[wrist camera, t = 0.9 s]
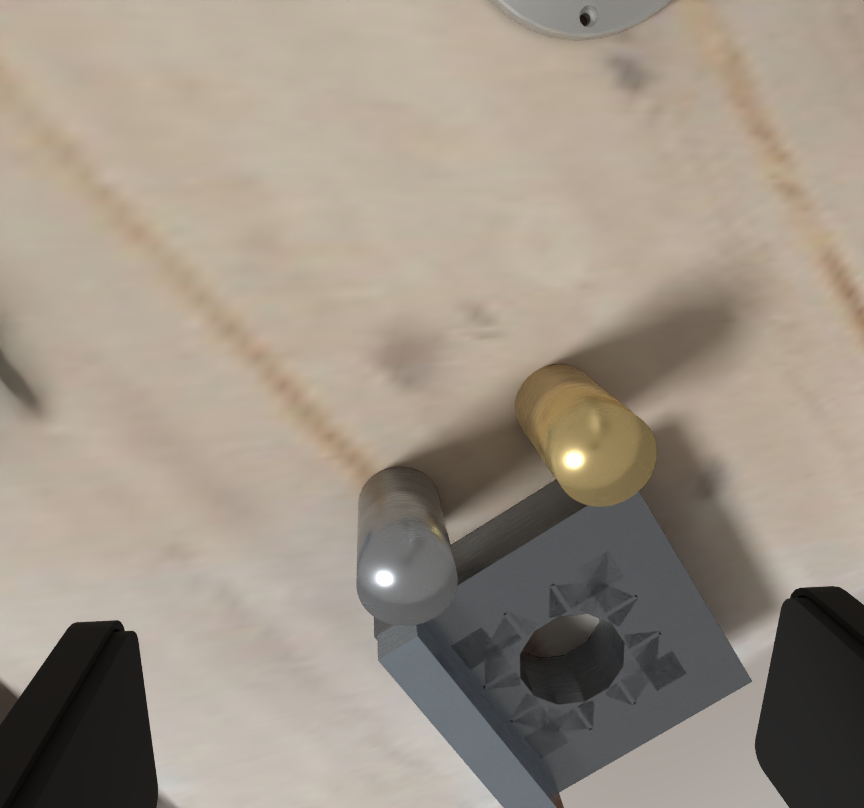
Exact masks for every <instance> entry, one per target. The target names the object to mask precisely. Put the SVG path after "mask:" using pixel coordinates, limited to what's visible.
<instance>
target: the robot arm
mask: <svg viewBox="0 0 864 808" xmlns="http://www.w3.org/2000/svg"><path fill="white" fill-rule="evenodd" d="M490 1H491V2H492V3H493V4H494V5H495V6H496V7H497V8H498V9H499V10H500V11H501V12H503V13H504V14H505V15H506V16H508V17H509V18H511V19H512V20H514V21H516V22H517V23H519V24H520V25H522V26H524V27H525V28H527V29H529V30H532V31H535V32H537V33H540V34H543V35H546V36H548V37H551V38H559V39H566V40H574V41H579V40H590V39H601V38H604V37H607V36H611V35H614V34H617V33H620V32H623V31H626V30H628V29H630V28H631V27H633V26H635V25H637V24H639V23H641V22H643V21H644V20H646V19H648V18H649V17H651V16H652V15H653V14H655V13H656V12H658V11H659V10H660V9H662V8H663V7H665V6H666V5H667V4H668V3H669V2H670V1H671V0H490ZM581 15H583V16H585V17H586V18H587V21H588V22H587V25H586V26H583V25H582V23H581V22H580V16H581ZM755 750H756V755H757V759H758V761H759V764H760V766H761V768H762V770H763V771H764V773H765V774H766V775H767V777H768V778H769V780H770V781H771V782H772V784H773V785H774V787H775V788H776V789H777V791H778V792H779V794H780V795H781V796H782V798H783V799H784V801H785V802H786V804H787V805H788V806H789V808H864V605H863V604H862V603H861V602H859V601H858V600H857V599H855V598H854V597H853V596H852V595H850V594H849V593H848V592H847V591H845V590H843V589H842V588H840V587H835V586H828V587H807V588H799V589H796V590H795V591H794V592H793V593H792V594H791V597H790V598H789V599H786V600H785V601H784V602H783V604H782V607H781V612H780V617H779V622H778V627H777V632H776V637H775V642H774V648H773V653H772V658H771V663H770V668H769V673H768V679H767V684H766V689H765V693H764V699H763V704H762V709H761V714H760V719H759V724H758V730H757V734H756V739H755ZM157 799H158V783H157V776H156V768H155V761H154V754H153V746H152V739H151V731H150V724H149V717H148V709H147V702H146V694H145V687H144V679H143V672H142V665H141V657H140V650H139V642H138V637H137V634H136V633H135V632H134V631H125V630H124V627H123V625H122V623H121V622H120V621H118V620H117V621H96V622H76V623H73V624H72V625H71V626H70V627H69V628H68V629H67V630H66V632H65V633H64V635H63V636H62V637H61V639H60V640H59V642H58V643H57V645H56V646H55V647H54V649H53V650H52V652H51V653H50V655H49V656H48V658H47V659H46V660H45V662H44V663H43V665H42V666H41V668H40V669H39V670H38V672H37V673H36V675H35V676H34V678H33V679H32V680H31V682H30V683H29V685H28V686H27V688H26V689H25V690H24V692H23V693H22V695H21V696H20V698H19V699H18V701H17V702H16V703H15V705H14V706H13V708H12V709H11V711H10V712H9V713H8V715H7V716H6V718H5V720H4V721H3V722H2V724H1V725H0V808H156V806H157Z"/></svg>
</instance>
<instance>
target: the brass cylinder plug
mask: <svg viewBox="0 0 864 808" xmlns="http://www.w3.org/2000/svg"><path fill="white" fill-rule="evenodd" d="M515 413H516V417H517V420H518V423H519V424H520V426H521V428H522V429H523V431H524V432H525V434H526V435H527V437H528V438H529V440H530V441H531V443H532V444H533V446H534V447H535V448H536V450H537V451H538V453H539V454H540V456H541V457H542V459H543V460H544V462H545V463H546V465H547V466H548V468H549V469H550V471H551V472H552V473H553V475H554V476H555V478H556V479H557V481H558V482H559V484H560V485H561V487H562V488H563V489H564V491H565V492H566V493H567V494H568V495H569V496H570V497H572V498H573V499H574V500H576V501H578V502H580V503H582V504H585V505H589V506H596V507H605V506H611V505H615V504H618V503H621V502H623V501H625V500H627V499H629V498H631V497H632V496H633V495H635V494H636V493H637V492H638V491H640V490H641V489H642V487H643V486H644V485H645V484H646V483H647V481H648V480H649V478H650V476H651V475H652V472H653V470H654V467H655V464H656V458H657V446H656V441H655V438H654V435H653V433H652V431H651V430H650V428H649V427H648V425H647V424H646V423H645V422H644V421H643V420H641V419H640V418H639V417H638V416H636V415H635V414H634V413H633V412H631V411H630V410H629V409H628V408H626V407H625V406H624V405H623V404H621V403H620V402H619V401H618V400H616V399H615V398H614V397H613V396H611V395H610V394H609V393H608V392H607V391H605V390H604V389H603V388H602V387H600V386H599V385H598V384H597V383H595V382H594V381H593V380H592V379H590V378H589V377H588V376H587V375H585V374H584V373H583V372H582V371H580V370H578V369H577V368H575V367H572V366H569V365H562V364H556V365H550V366H546V367H543V368H541V369H539V370H537V371H535V372H534V373H533V374H531V375H530V376H529V377H528V378H527V379H526V380H525V381H524V383H523V384H522V386H521V387H520V389H519V391H518V394H517V397H516V402H515Z"/></svg>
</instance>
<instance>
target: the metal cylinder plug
mask: <svg viewBox="0 0 864 808" xmlns="http://www.w3.org/2000/svg"><path fill="white" fill-rule="evenodd" d="M457 584H458V576H457V570H456V566H455V562H454V558H453V554H452V550H451V545H450V541H449V537H448V533H447V529H446V525H445V521H444V517H443V513H442V509H441V504H440V500H439V496H438V493H437V490H436V487H435V486H434V484H433V482H432V481H431V480H430V479H429V478H428V477H427V476H426V475H424V474H423V473H421V472H419V471H417V470H415V469H412V468H408V467H393V468H388V469H385V470H383V471H380V472H378V473H377V474H375V475H374V476H372V477H371V478H370V479H369V480H368V481H367V483H366V484H365V485H364V487H363V489H362V491H361V493H360V497H359V503H358V544H357V592H358V596H359V599H360V601H361V603H362V605H363V606H364V607H365V609H366V610H367V611H368V612H369V613H370V614H371V615H373V616H374V617H375V618H377V619H379V620H380V621H383V622H385V623H388V624H391V625H397V626H412V625H418V624H421V623H424V622H427V621H429V620H431V619H433V618H435V617H436V616H438V615H439V614H441V613H442V612H443V611H444V610H445V609H446V608H447V607H448V605H449V604H450V602H451V601H452V599H453V597H454V595H455V592H456V589H457Z"/></svg>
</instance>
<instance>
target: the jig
mask: <svg viewBox="0 0 864 808" xmlns="http://www.w3.org/2000/svg"><path fill="white" fill-rule="evenodd" d="M451 550H452V554H453V558H454V562H455V566H456V570H457V576H458V584H457V589H456V592H455V595H454V597H453V599H452V601H451V602H450V604H449V605H448V607H447V608H446V609H445V610H444V611H443V612H442V613H441V614H439V615H438V616H436V617H435V618H433V619H431V620H429V621H427V622H424V623H421V624H418V625H412V626H397V625H391V624H388V623H385V622H383V621H380V620H379V619H377V618H375V617H374V637H375V638H376V639H377V641H378V661H379V662H380V663H381V664H382V665H383V667H384V668H385V669H386V670H387V671H388V672H389V674H390V675H391V676H392V677H393V678H394V679H395V681H396V682H397V683H398V684H399V685H400V687H401V688H402V689H403V690H404V691H405V692H406V694H407V695H408V696H409V697H410V698H411V699H412V701H413V702H414V703H415V704H416V705H417V706H418V708H419V709H420V710H421V711H422V712H423V714H424V715H425V716H426V717H427V718H428V719H429V721H430V722H431V723H432V724H433V725H434V726H435V728H436V729H437V730H438V731H439V732H440V733H441V735H442V736H443V737H444V738H445V739H446V741H447V742H448V743H449V744H450V745H451V746H452V748H453V749H454V750H455V751H456V752H457V753H458V755H459V756H460V757H461V758H462V759H463V760H464V762H465V763H466V764H467V765H468V766H469V768H470V769H471V770H472V771H473V772H474V773H475V775H476V776H477V777H478V778H479V779H480V780H481V782H482V783H483V784H484V785H485V786H486V787H487V789H488V790H489V791H490V792H491V793H492V795H493V796H494V797H495V798H496V799H497V800H498V802H499V803H500V804H501V805H502V806H503V807H504V808H564V807H563V804H562V801H561V798H560V795H559V792H561V791H562V790H564V789H566V788H568V787H569V786H571V785H573V784H575V783H576V782H578V781H580V780H581V779H583V778H585V777H587V776H588V775H590V774H592V773H594V772H595V771H597V770H599V769H601V768H602V767H604V766H606V765H607V764H609V763H611V762H613V761H615V760H616V759H618V758H620V757H622V756H623V755H625V754H627V753H628V752H630V751H632V750H634V749H635V748H637V747H639V746H641V745H642V744H644V743H646V742H648V741H649V740H651V739H653V738H655V737H656V736H658V735H659V734H662V733H663V732H665V731H667V730H668V729H670V728H672V727H674V726H675V725H677V724H679V723H681V722H682V721H684V720H686V719H688V718H689V717H691V716H693V715H695V714H696V713H698V712H700V711H702V710H703V709H705V708H707V707H709V706H710V705H712V704H714V703H715V702H717V701H719V700H721V699H722V698H724V697H726V696H728V695H729V694H731V693H733V692H735V691H736V690H738V689H740V688H742V687H743V686H745V685H747V684H748V683H750V682H752V680H751V678H750V677H749V675H748V674H747V672H746V670H745V668H744V667H743V665H742V663H741V662H740V660H739V658H738V657H737V655H736V653H735V652H734V650H733V648H732V646H731V645H730V643H729V641H728V640H727V638H726V636H725V635H724V633H723V631H722V630H721V628H720V626H719V625H718V623H717V621H716V620H715V618H714V616H713V615H712V613H711V611H710V610H709V608H708V606H707V605H706V603H705V601H704V599H703V598H702V596H701V594H700V593H699V591H698V589H697V588H696V586H695V584H694V583H693V581H692V579H691V578H690V576H689V574H688V573H687V571H686V569H685V568H684V566H683V564H682V563H681V561H680V559H679V557H678V556H677V554H676V552H675V551H674V549H673V547H672V546H671V544H670V542H669V541H668V539H667V537H666V536H665V534H664V532H663V531H662V529H661V527H660V526H659V524H658V522H657V521H656V519H655V517H654V516H653V514H652V512H651V510H650V509H649V507H648V505H647V504H646V502H645V500H644V499H643V497H642V495H641V494H640V492H639V491H638V492H637V493H636V494H635V495H633V496H632V497H631V498H629V499H627V500H625V501H623V502H621V503H618V504H615V505H611V506H605V507H596V506H589V505H585V504H582V503H580V502H578V501H576V500H574V499H573V498H572V497H570V496H569V495H568V494H567V493H566V492H565V491H564V489H563V488H562V487H561V485H560V484H559V482H558V481H557V480H555V481H554V482H552V483H550V484H549V485H547V486H546V487H544V488H542V489H541V490H539V491H537V492H536V493H534V494H533V495H531V496H529V497H528V498H526V499H525V500H523V501H521V502H520V503H518V504H517V505H515V506H513V507H512V508H510V509H509V510H507V511H505V512H504V513H502V514H501V515H499V516H497V517H496V518H494V519H493V520H491V521H489V522H488V523H486V524H485V525H483V526H481V527H480V528H478V529H477V530H475V531H473V532H472V533H470V534H469V535H467V536H465V537H464V538H462V539H461V540H459V541H457V542H456V543H454V544H453V545H451ZM587 613H588V614H590V615H592V616H595V617H597V618H600V622H599V624H598V626H597V627H596V629H595V630H594V632H593V633H592V635H591V636H590V638H589V640H588V641H587V643H585V644H583V645H582V646H580V647H578V648H577V649H575V650H573V651H572V652H570V653H568V654H566V655H564V656H555V657H546V658H538V657H536V656H533V655H531V654H528V653H525V652H523V651H522V650H523V648H524V647H525V645H526V644H527V642H528V640H529V639H530V637H531V636H532V634H533V632H534V631H536V630H537V629H539V628H541V627H542V626H544V625H546V624H547V623H549V622H551V621H552V620H554V619H556V618H557V617H559V616H568V615H578V614H587Z"/></svg>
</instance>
